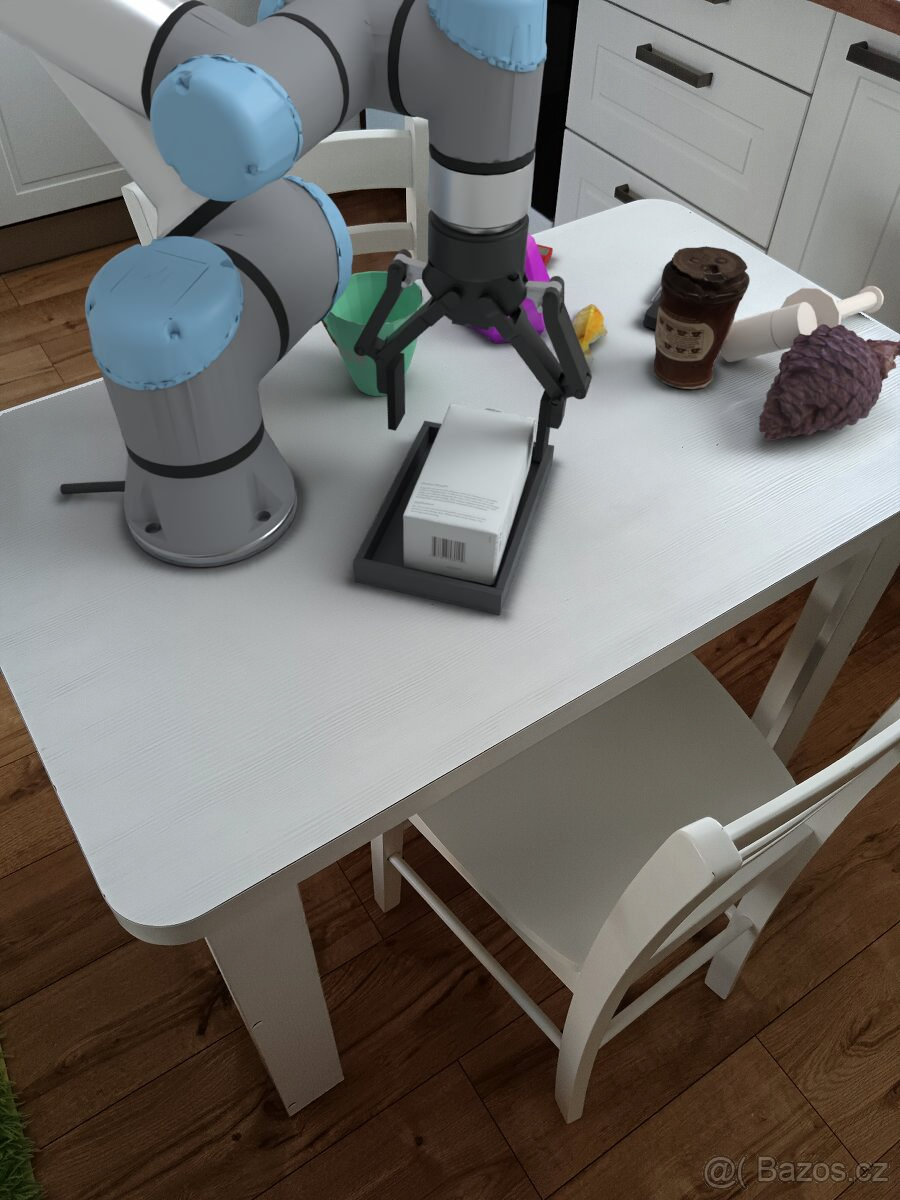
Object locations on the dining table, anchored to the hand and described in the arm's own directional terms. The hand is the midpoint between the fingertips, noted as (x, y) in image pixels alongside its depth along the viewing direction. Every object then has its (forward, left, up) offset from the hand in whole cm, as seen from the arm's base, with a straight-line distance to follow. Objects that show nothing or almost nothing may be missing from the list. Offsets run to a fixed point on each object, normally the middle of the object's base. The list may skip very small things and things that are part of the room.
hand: (467, 436), depth 86 cm
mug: (-8, +19, -5) cm, 21 cm away
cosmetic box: (-4, -13, -1) cm, 14 cm away
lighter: (+17, +38, -5) cm, 42 cm away
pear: (+10, +26, -5) cm, 28 cm away
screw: (+30, +30, -5) cm, 43 cm away
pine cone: (+38, +3, -6) cm, 39 cm away
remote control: (+31, +26, -5) cm, 41 cm away
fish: (+15, +22, -4) cm, 27 cm away
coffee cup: (+26, +13, -5) cm, 29 cm away
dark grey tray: (-2, -5, -5) cm, 8 cm away
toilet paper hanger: (+42, +15, -5) cm, 45 cm away
